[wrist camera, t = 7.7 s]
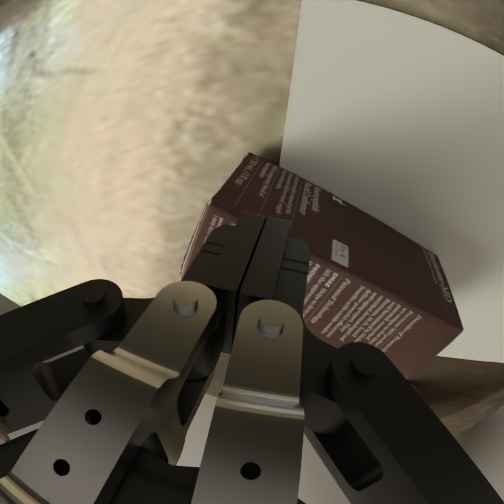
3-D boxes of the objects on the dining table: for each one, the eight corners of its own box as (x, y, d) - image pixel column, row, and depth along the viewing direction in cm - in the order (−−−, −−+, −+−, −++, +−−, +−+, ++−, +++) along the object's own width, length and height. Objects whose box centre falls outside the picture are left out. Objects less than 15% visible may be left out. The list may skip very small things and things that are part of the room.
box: (248, 143, 15) (439, 253, 16) (216, 214, 18) (392, 304, 19) (207, 193, 10) (469, 332, 11) (173, 283, 13) (402, 384, 14)
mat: (304, -7, 11) (303, -9, 10) (617, 143, 8) (622, 146, 8) (256, 316, 22) (254, 322, 22) (504, 357, 20) (506, 363, 19)
